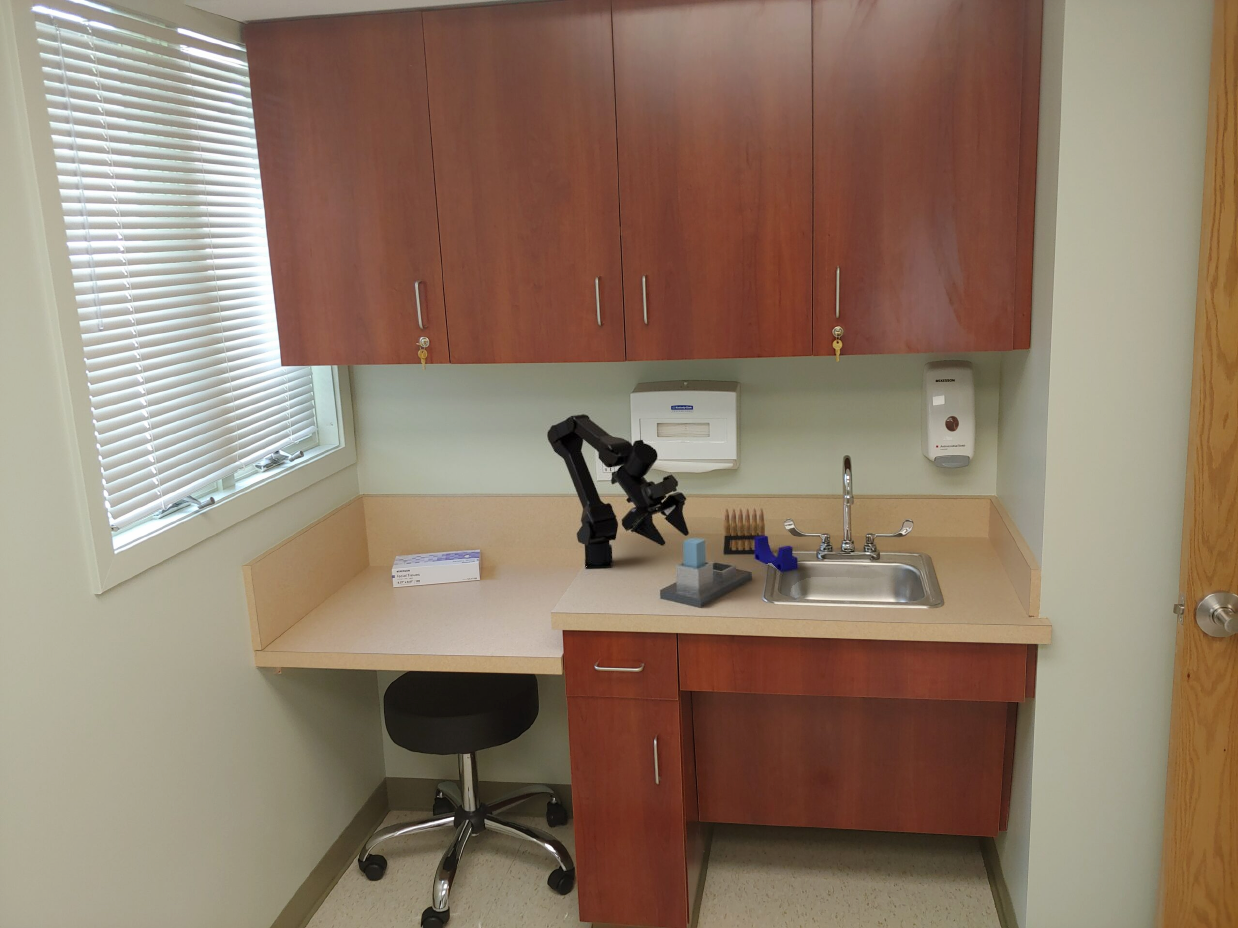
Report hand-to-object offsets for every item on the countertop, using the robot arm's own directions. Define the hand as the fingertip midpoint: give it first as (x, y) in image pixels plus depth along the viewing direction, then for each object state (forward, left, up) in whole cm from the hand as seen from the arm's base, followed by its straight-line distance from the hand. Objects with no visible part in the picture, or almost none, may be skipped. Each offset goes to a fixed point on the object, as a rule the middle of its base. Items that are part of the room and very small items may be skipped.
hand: (675, 539), depth 224 cm
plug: (+4, -3, -6) cm, 8 cm away
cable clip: (+26, +17, -13) cm, 34 cm away
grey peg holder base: (+7, +1, -12) cm, 14 cm away
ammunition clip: (+20, +26, -13) cm, 35 cm away
